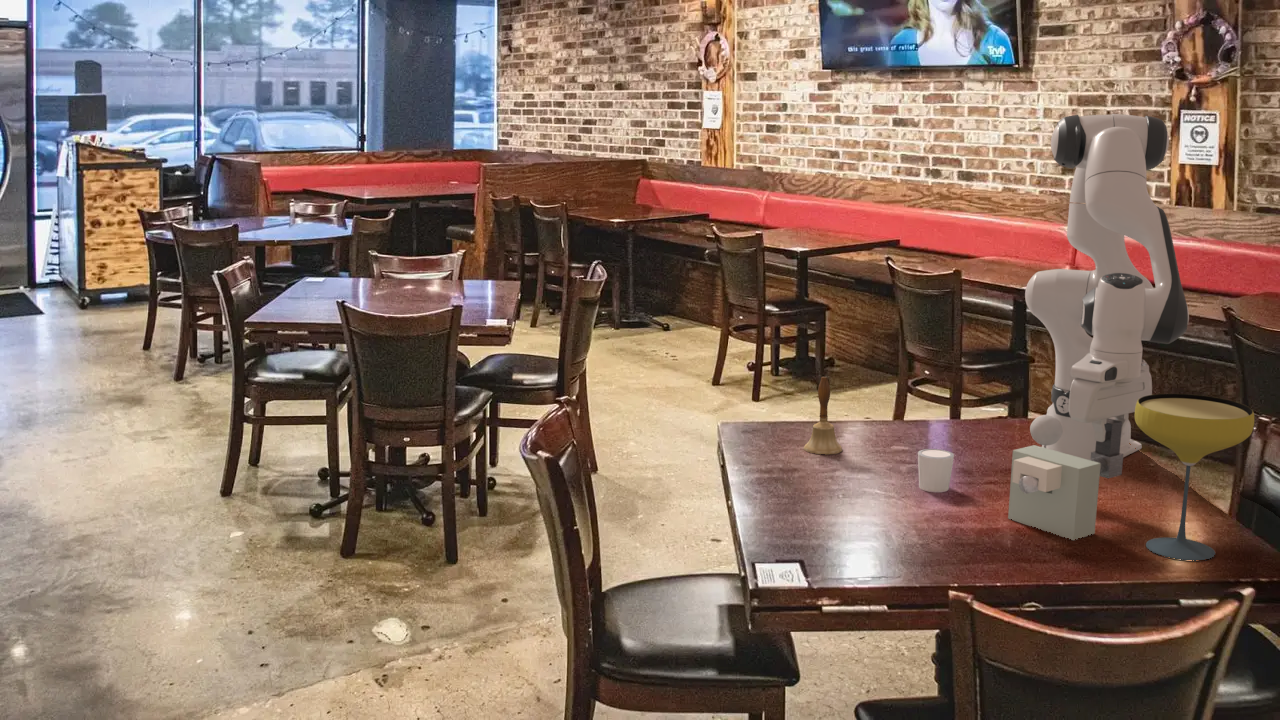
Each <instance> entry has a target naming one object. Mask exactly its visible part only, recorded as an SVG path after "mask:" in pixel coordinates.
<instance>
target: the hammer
mask: <svg viewBox="0 0 1280 720" xmlns="http://www.w3.org/2000/svg"><path fill="white" fill-rule="evenodd" d="M1104 426H1105V430H1106V432H1108V440H1107V441H1104V442H1099V441H1096V448H1095V451H1094V452H1091V459H1089V460H1091V461H1094V462H1098V463H1101V464H1100V476H1099V477H1102V478H1104V479H1105V478H1106V479H1110V478H1114V477H1119V476H1122V474H1123V473H1122V472H1123V464H1124V463H1123V462H1124V457H1123V453H1120V442H1121V430H1122V421H1117V420H1113V419H1109V418H1107V421H1106V424H1104ZM1038 482H1039V479H1038V478H1035V477H1031V476H1024V477H1022V478H1020V480H1019V487H1020V489H1021V491H1022V492H1024V493H1026V494H1028V493H1032V492H1036V491H1039V490H1038Z"/></svg>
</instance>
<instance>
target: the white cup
mask: <svg viewBox="0 0 1280 720" xmlns="http://www.w3.org/2000/svg"><path fill="white" fill-rule="evenodd" d="M954 459H955V454H954V453H953V452H951V451H950V450H949V451H948V450H944V449H940V448H939V449H937V448H925V449H922V450H921V449H920V450H919V451H917V465H918V466H917V469H918V488H919V489H920V490H922V491H925V492H929V493H946V492H947V491H949V490H950V483H951V477H952V471H953V464H954Z"/></svg>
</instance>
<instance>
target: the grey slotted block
mask: <svg viewBox="0 0 1280 720" xmlns="http://www.w3.org/2000/svg"><path fill="white" fill-rule="evenodd" d="M1011 456H1012V457H1011V458H1012V459H1011V474H1010V485H1009V487H1010V488H1009V498H1008V501H1009V502H1008V514H1007V515H1008V516H1007V519H1009V520H1011V519H1012V521H1014V522H1016V523H1020V524H1023V525H1026V526H1028V527H1031V526H1032V527H1031V528H1034V527H1036V528H1035V529H1037V528H1038V530H1040V529H1041V530H1042V531H1043V532H1046V531H1047V533H1049V532H1051V533H1050V534H1052V533H1053V534H1052V535H1055V534H1056V536H1058V535H1059V537H1062V538H1064V537H1065V539H1067V538H1069V539H1068V540H1070V539H1071V541H1076V540H1079V539H1078V538H1080V539H1081V538H1082V537H1083V538H1086V537H1088V535H1089V536H1092V535H1095V533H1096V522H1097V521H1096V520H1097V511H1098V509H1097V507H1098V496H1099V486H1100V477H1101V476H1100V464H1101V463H1098V462H1094V461H1091V460H1087V459H1083V458H1080V457H1076V456H1072V455H1069V454H1065V453H1061V452H1058V451H1054V450H1050V449H1047V448H1043V447H1042V446H1038V445H1035V444H1033V445H1028V446H1025V447H1021V448H1020V447H1019V448H1017V449H1013V450H1012V455H1011ZM1028 456H1029V457H1033V458H1036V459H1040V460H1043V461H1047V462H1050V463H1054V464H1057V465H1061V466H1062V473H1061V486H1060V488H1059V489H1055V490H1052V491H1048V492H1043V491H1040V490H1039V491H1036V492H1032V493H1028V494H1026V493H1024V492H1022V491H1021V489H1020V487H1019V484H1017V483H1014V482H1012V479H1013V464H1014V460H1016V459H1020V458H1024V457H1028ZM1091 534H1092V535H1091ZM1083 538H1082V539H1083ZM1075 539H1076V540H1075Z"/></svg>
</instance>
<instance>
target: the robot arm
mask: <svg viewBox="0 0 1280 720" xmlns="http://www.w3.org/2000/svg"><path fill="white" fill-rule="evenodd" d="M1169 144H1170V137H1169V131H1168V127H1167V125H1166V123H1165V121H1164V120H1162V118H1158V117H1155V116H1151V115H1145V116H1139V115H1132V114H1123V113H1122V114H1121V113H1111V114H1091V115H1090V114H1089V115H1082V116H1081V115H1079V114H1073V115H1067V116H1064V117H1062V118H1060V120H1058V121H1057V123H1056V125H1055V128H1054V130H1053V131H1052V134H1051V138H1050V149H1051V153H1052V156H1053V160H1054V161H1055V163H1056V164H1058V165H1059V166H1061V167H1064V168H1068V169H1073V170H1074V168H1075V170H1074V174H1073V178H1072V182H1071V183H1072V184H1071V188H1070V196H1069V206H1068V217H1067V227H1066V238H1067V240H1068V242H1069V244H1070V245H1071V246H1072V248H1074V249H1076V250H1077V251H1078V252H1080V253H1082V254H1084V255H1086V256H1087V257H1090V258H1091V260H1093V263H1094V266H1095V269H1093V270H1083V269H1081V270H1080V269H1067V268H1056V269H1054V268H1053V269H1046V270H1041V271H1037V272H1035V273H1034V274H1033V275H1032V276H1031V277H1030V279H1029V280H1028V282H1027V284H1026V287H1025V293H1024V298H1025V304H1026V306H1027V308H1028V310H1029V311H1030V312H1031V314H1032V315H1033V316H1035V317H1036V318H1037V319H1038V320H1039V321H1040V322H1041V323H1042V324H1043V325H1044V327H1045V328H1046V330H1047V331H1048V333H1049V335H1050V337H1051V339H1052V342H1053V346H1054V351H1055V373H1054V374H1055V375H1054V384H1053V385H1052V389H1051V391H1050V394H1051V399H1050V400H1051V402H1052V404H1051V405H1049V406H1048V408H1047V410H1046V415H1051V416H1053V417H1055V418H1057V419H1058V420H1059V422H1060V423H1061V425H1062V428H1063V433H1062V436H1061V438H1060V439H1059V440H1058V441H1057V442H1056V443H1054V444H1052V445H1046V448H1047V449H1050V450H1054V451H1058V452H1061V453H1065V454H1069V455H1072V456H1076V457H1080V458H1083V459H1087V460H1089V459H1091V452H1094V451H1095V448H1096V441H1099V442H1104V441H1107V440H1108V432H1106V430H1105V426H1104V424H1106V421H1107V418H1109V419H1113V420H1117V421H1122V430H1121V442H1120V453H1123V458H1125V457H1127V456H1129V455H1130V454H1133V453H1135V452H1138V451H1140V450H1141V449H1142V443H1141V442H1139V441H1137V440H1134V439H1131V438H1132V437H1131V435H1132V433H1131V432H1132V431H1131V430H1132V429H1131V428H1132V426H1131V422H1130V420H1129V416H1130V415H1129V414H1132V413H1133V414H1134V413H1135V407H1136V403H1137V401H1138V399H1140V398H1141V397H1144V396H1148V395H1153V381H1152V375H1151V372H1150V366H1149V364H1148V363H1147V361H1146V360H1145V359H1143V349H1144V347H1143V344H1142V341H1147V342H1150V343H1156V344H1157V343H1158V344H1163V345H1164V344H1165V345H1169V344H1171V343H1173V342H1174V341H1176V340H1178V339H1179V338H1181V337H1182V336H1183V335H1184V334H1185V333H1186V332H1187V329H1188V325H1189V321H1190V314H1189V313H1190V311H1189V306H1188V303H1187V300H1186V296H1185V292H1184V289H1183V285H1182V282H1181V277H1180V272H1179V266H1178V262H1177V261H1178V260H1177V255H1176V250H1175V246H1174V240H1173V236H1172V232H1171V227H1170V223H1169V220H1168V217H1167V214H1166V212H1165V211H1164V209H1162V208H1161V207H1159V206H1158V205H1157V204H1155V203H1154V201H1153V199H1152V198H1151V196H1150V194H1149V192H1148V185H1147V183H1148V182H1147V181H1148V180H1147V176H1148V175H1147V171H1150V170H1152V169H1155V168H1156V167H1158V166H1159V165H1161V164H1162V163H1163V162H1164V159H1165V156H1166V155H1167V154H1168V153H1167V152H1168V150H1169ZM1125 237H1128V238H1130V239H1132V240H1134V241H1136V242H1138V243H1139V244H1141V245H1142V246H1143V247H1144V249H1146V251H1147V252H1148V254H1149V259H1150V260H1149V261H1150V264H1151V269H1152V270H1151V271H1152V275H1153V280H1154V284H1155V287H1153V285H1152V283H1151V281H1150V280H1149V279H1148V278H1147V277H1145V276H1144V275H1143V274H1142V273H1141V272H1140V271H1139V270H1138V269H1137V268H1136V267H1135V265H1134V263H1133V262H1132V261H1131V258H1130V257H1129V254H1128V251H1127V248H1126V241H1125V240H1126V239H1125ZM1091 336H1093V337H1091ZM1129 443H1130V444H1131V445H1130V444H1129ZM1041 447H1043V448H1044V445H1041ZM1135 448H1136V449H1135Z"/></svg>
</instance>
